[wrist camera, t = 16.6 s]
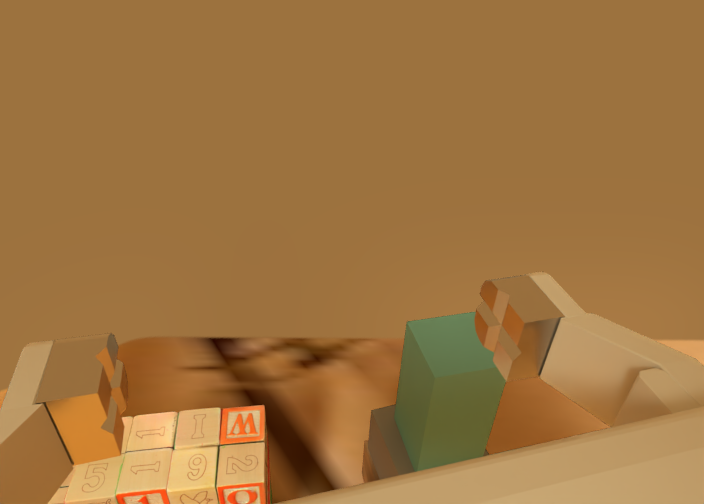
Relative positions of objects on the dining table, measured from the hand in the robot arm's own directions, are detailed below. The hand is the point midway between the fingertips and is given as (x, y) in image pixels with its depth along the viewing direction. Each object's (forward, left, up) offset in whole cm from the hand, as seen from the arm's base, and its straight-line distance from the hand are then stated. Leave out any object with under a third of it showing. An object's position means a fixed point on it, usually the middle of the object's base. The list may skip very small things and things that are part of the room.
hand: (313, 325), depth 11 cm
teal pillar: (+17, -1, -25) cm, 30 cm away
